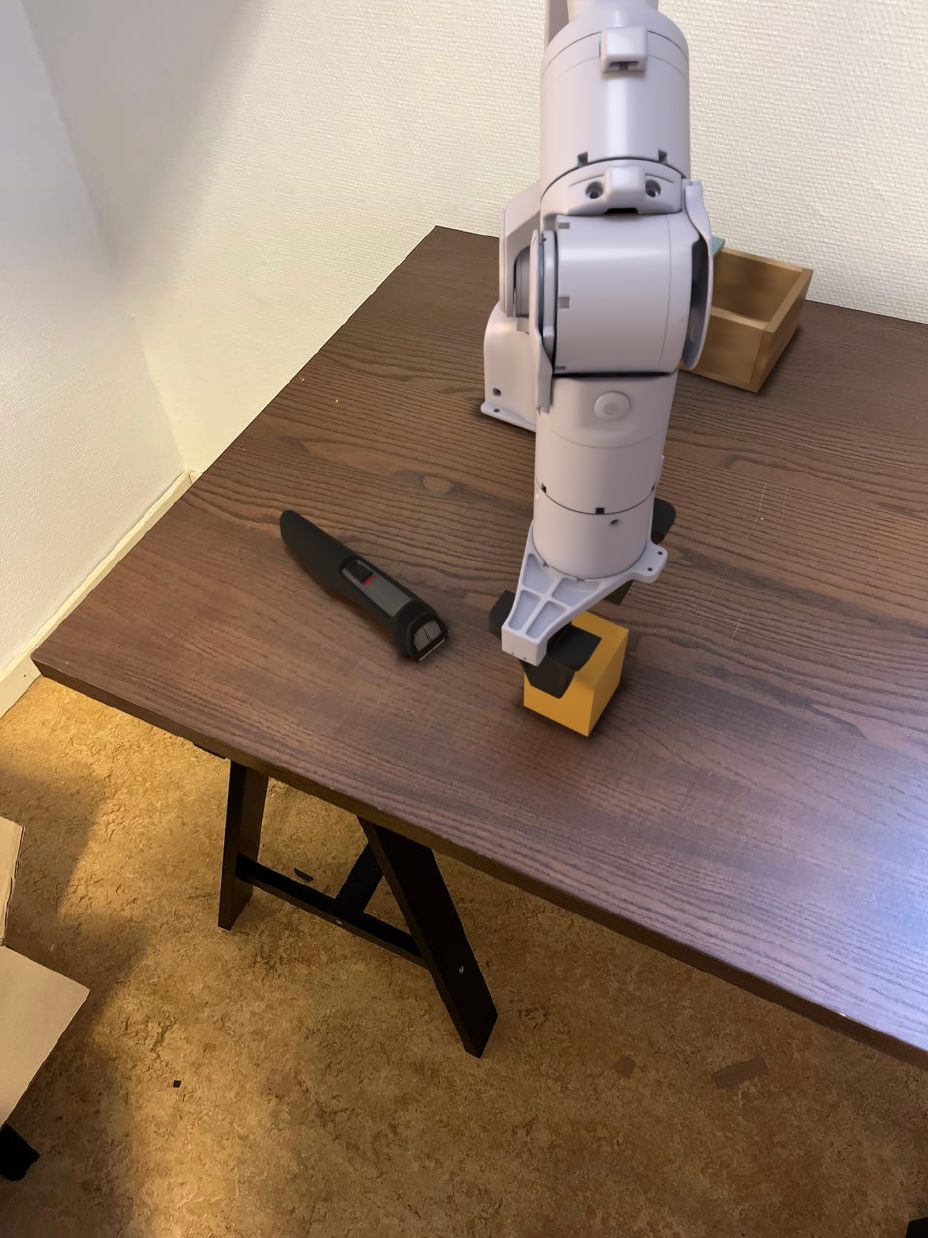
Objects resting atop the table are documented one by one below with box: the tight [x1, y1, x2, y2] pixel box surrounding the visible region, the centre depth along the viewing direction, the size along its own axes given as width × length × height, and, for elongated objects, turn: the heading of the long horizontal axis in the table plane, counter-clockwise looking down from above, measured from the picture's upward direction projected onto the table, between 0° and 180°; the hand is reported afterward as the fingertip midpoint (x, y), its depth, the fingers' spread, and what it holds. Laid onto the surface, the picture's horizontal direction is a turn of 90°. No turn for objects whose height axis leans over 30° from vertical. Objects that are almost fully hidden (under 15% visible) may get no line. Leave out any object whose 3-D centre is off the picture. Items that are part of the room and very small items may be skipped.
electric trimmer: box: [279, 509, 449, 662], centre depth 61 cm, size 4×16×3 cm, turn 45°
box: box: [679, 246, 814, 394], centre depth 75 cm, size 10×10×6 cm
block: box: [523, 610, 630, 737], centre depth 53 cm, size 5×5×6 cm
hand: (577, 640), depth 51 cm, fingers open, 7 cm apart
